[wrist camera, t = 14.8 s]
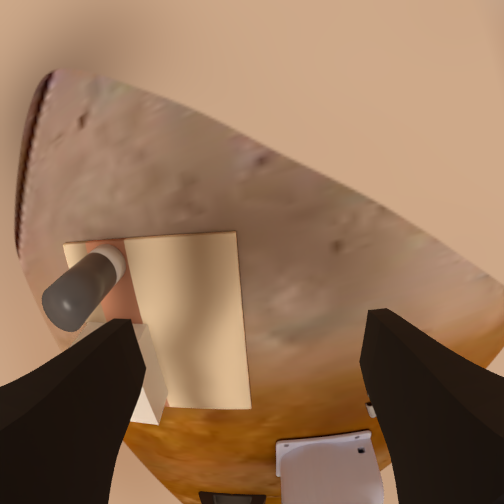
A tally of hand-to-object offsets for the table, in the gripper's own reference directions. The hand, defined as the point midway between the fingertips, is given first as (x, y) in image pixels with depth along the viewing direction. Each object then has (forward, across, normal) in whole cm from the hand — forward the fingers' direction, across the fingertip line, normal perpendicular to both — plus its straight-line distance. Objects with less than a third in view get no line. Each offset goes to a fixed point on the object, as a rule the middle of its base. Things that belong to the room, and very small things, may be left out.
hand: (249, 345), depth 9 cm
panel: (+10, +7, +7) cm, 14 cm away
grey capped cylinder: (+10, +10, +1) cm, 13 cm away
